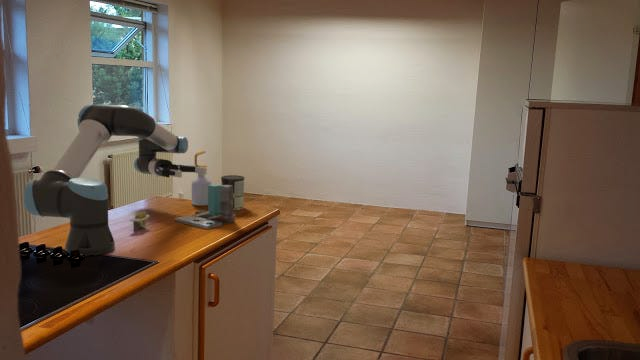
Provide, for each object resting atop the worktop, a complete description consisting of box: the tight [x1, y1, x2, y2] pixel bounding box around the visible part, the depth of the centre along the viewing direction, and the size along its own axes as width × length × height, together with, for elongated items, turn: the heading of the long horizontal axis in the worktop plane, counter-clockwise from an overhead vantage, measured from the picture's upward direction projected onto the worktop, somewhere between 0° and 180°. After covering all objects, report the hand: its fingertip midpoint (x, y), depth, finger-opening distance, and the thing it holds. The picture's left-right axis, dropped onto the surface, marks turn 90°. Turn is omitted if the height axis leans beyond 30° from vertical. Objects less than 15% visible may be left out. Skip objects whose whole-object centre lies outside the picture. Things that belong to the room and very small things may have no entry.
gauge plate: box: [174, 214, 223, 230], centre depth 226 cm, size 8×19×1 cm, turn 54°
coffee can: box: [220, 174, 245, 211], centre depth 255 cm, size 10×10×14 cm
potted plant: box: [129, 210, 150, 232], centre depth 215 cm, size 12×18×7 cm, turn 172°
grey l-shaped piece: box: [194, 184, 237, 225], centre depth 229 cm, size 12×19×15 cm, turn 54°
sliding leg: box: [196, 183, 222, 217], centre depth 229 cm, size 12×5×12 cm, turn 144°
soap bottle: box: [191, 150, 213, 207], centre depth 260 cm, size 9×9×25 cm
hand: (193, 172), depth 238 cm, fingers open, 13 cm apart
